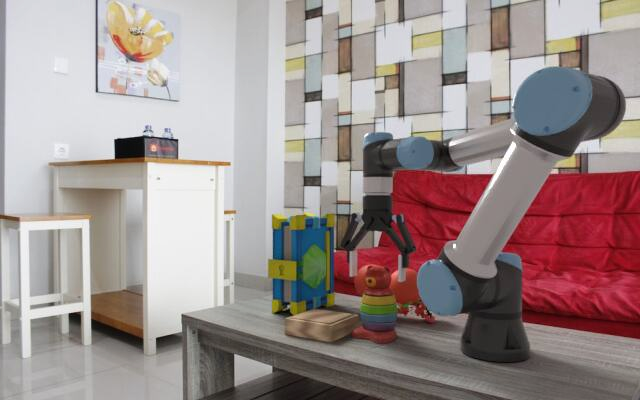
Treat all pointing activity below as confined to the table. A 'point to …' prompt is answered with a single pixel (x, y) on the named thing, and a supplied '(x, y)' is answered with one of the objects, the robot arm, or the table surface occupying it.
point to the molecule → (399, 292)
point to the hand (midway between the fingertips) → (376, 278)
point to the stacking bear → (377, 307)
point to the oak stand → (321, 324)
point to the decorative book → (302, 262)
